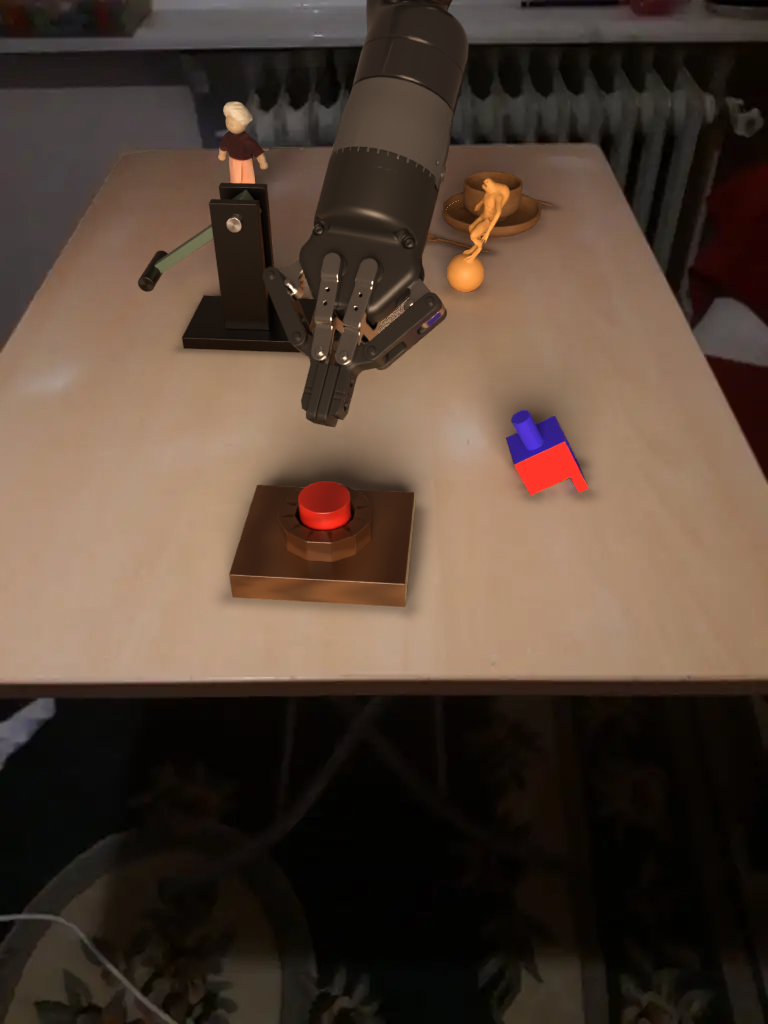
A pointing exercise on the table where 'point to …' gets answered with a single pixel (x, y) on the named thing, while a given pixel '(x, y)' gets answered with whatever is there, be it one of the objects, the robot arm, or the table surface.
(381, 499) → the button block
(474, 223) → the figurine
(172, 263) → the lever
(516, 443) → the toy building block
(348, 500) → the button
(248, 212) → the bracket
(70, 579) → the table surface
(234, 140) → the grandmother figurine
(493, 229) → the place setting
